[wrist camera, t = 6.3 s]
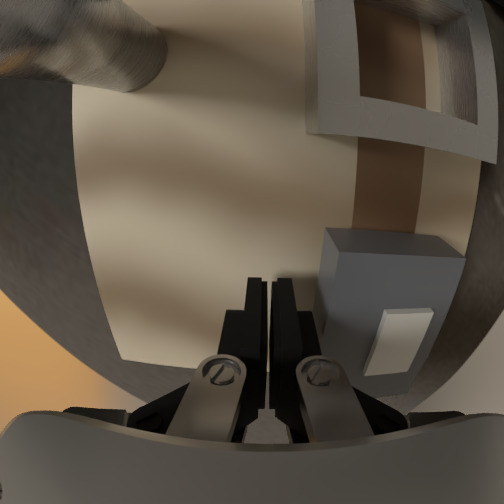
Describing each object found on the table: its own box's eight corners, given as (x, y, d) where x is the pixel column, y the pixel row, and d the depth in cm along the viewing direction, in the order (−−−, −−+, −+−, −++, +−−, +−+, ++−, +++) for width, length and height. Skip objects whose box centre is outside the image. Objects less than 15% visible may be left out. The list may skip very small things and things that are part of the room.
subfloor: (92, 8, 8) (81, 3, 7) (461, 22, 7) (472, 17, 6) (127, 348, 15) (121, 359, 14) (420, 348, 15) (426, 359, 14)
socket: (299, -25, 7) (308, -57, 4) (450, 14, 6) (481, 1, 4) (305, 133, 9) (317, 132, 7) (459, 155, 9) (496, 164, 7)
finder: (320, 220, 11) (341, 255, 8) (428, 229, 10) (470, 262, 7) (300, 355, 13) (306, 407, 10) (389, 352, 13) (409, 397, 10)
